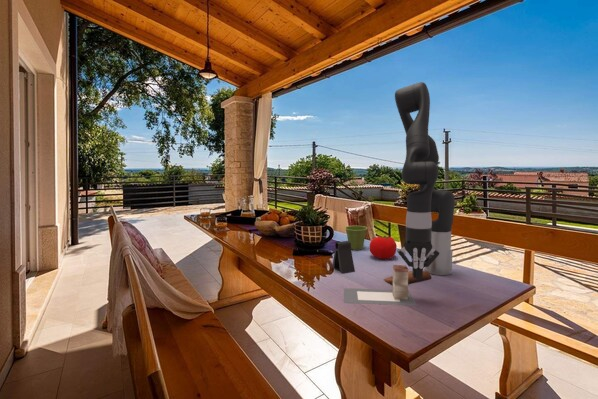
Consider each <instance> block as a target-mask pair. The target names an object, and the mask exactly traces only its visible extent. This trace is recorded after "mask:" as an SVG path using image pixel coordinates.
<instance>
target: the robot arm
mask: <svg viewBox="0 0 598 399" xmlns="http://www.w3.org/2000/svg"><path fill="white" fill-rule="evenodd" d="M430 98H431V97H430V92H429V89H428V86H427V84H426V82H422V81H421V82H416V83H413V84H411V85H408V86H405V87H402V88H399V89H397V90H396V91H395V92H394V100H395V104H396V108H397V111H398V115H399V116H400V117H399V118H400V120H401V122H402V125H403V129H404V132H405V135H406V137H405V149H406V154H405V160H404V164H403V166H402V170H401V179H402V181H403V182H404V183H405V185H419V186H418V187H419V190H418V191H412V192H409V193H408V195H407V197H406V198H407V199H406V217H405V242H404V244H403V247H401V248H398V249H396V253H398V255H399V256H400V257H401V258H402V260H403V262H404V263H405V264H406V266H407V267H410V268H412V269H411V271H412V275H413V277H414V278H415V280H421V278H422V277H423V271H428V272H429V273H430V275H437V276H446V275H452V274H453V255H454V254H453V250H452V227H453V224H454V214H455V195H454V193H453V192H452V191H450V190H443V189H435V185H436V183H437V179H438V177H439V166H438V164H439V160H440V157H439V156H440V155H439V151H438V147H437V143H436V141H435V140H434V138H433V137H432V136H430V134H429V123H430V110H431V99H430ZM415 112H417V114H416V117H415V118H414V119H413V117H412V115H411V114H412V113H415ZM432 213H433V214H438V215H437V218H436V219H435V220H432V219H433V218H432ZM407 253H408V254H409V256H410V257H411V261H410V260H409V258H407V256H406V254H407ZM424 268H425V270H424Z"/></svg>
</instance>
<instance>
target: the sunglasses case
mask: <svg viewBox="0 0 598 399" xmlns="http://www.w3.org/2000/svg"><path fill="white" fill-rule="evenodd" d="M428 280H432V274H430V273H429V272H428V271H425V270H423V277H422V278H421V280H415V278H414V277H413V275H412V270H408V285H409V284H410V285H411V284H414V283H415V284H416V283H419V282H424V281H428ZM383 281H384V282H385V283H387V284H388V285H390V286H392V287H393V275H392V276H388V277H385V278H384V279H383Z"/></svg>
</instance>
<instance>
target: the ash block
mask: <svg viewBox="0 0 598 399" xmlns="http://www.w3.org/2000/svg"><path fill="white" fill-rule="evenodd" d="M408 272H409V268H408V265H407V264H406V265H405V264H392V276H393V286H392V290H393V297H394V299H398V300H408V290H409V284H408Z"/></svg>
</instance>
